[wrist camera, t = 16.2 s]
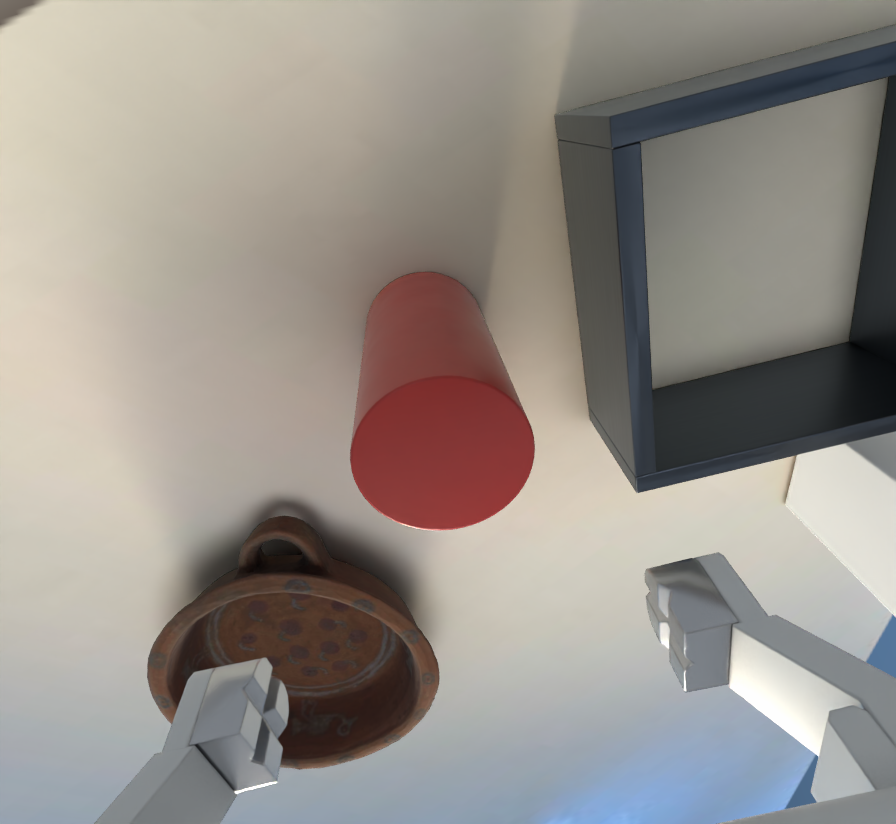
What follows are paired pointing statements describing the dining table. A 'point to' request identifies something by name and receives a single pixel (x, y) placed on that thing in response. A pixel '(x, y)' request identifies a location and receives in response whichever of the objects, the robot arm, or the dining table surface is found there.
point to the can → (436, 410)
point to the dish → (306, 647)
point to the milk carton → (852, 507)
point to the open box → (626, 294)
